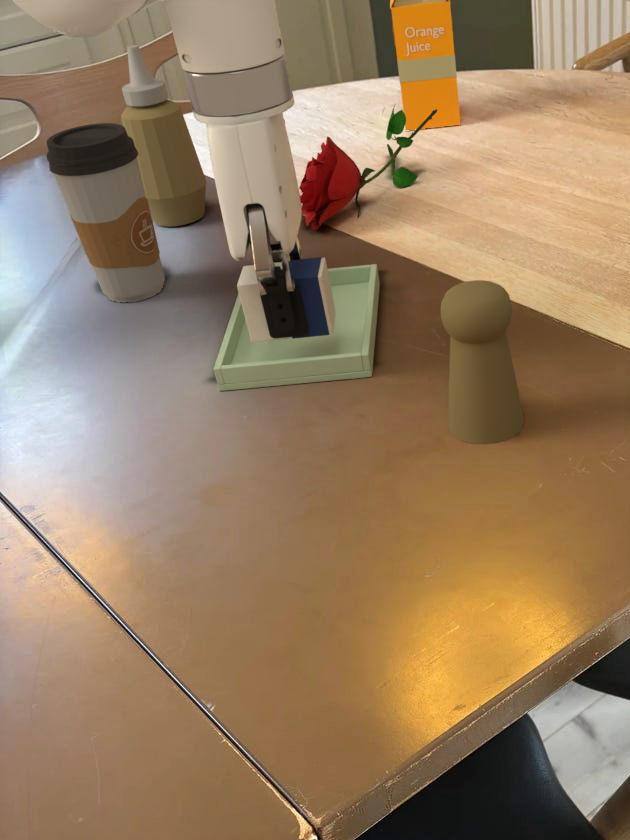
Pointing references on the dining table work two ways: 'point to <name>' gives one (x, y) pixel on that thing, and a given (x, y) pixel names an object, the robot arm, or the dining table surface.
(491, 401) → the olive brown pawn figure
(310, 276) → the eraser
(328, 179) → the flower
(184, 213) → the squeeze bottle
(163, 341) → the dining table surface
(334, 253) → the dining table surface
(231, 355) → the tray
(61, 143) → the coffee cup
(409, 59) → the orange juice
